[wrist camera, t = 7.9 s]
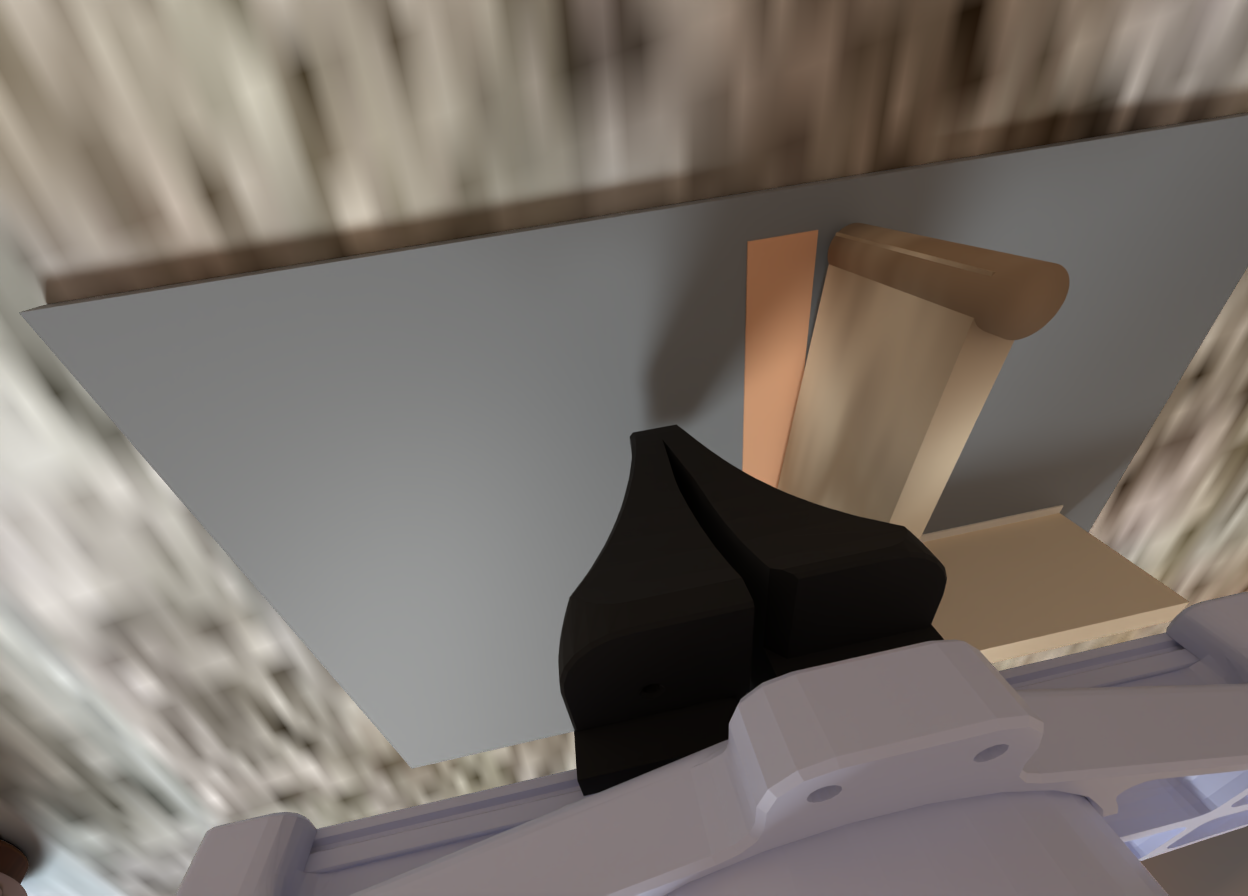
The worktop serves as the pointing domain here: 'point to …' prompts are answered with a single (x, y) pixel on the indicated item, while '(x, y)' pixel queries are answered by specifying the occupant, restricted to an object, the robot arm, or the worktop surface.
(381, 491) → the board
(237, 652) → the worktop surface
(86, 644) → the worktop surface
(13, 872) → the flowerpot
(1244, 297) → the worktop surface
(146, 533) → the worktop surface
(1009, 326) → the tan wooden plank
